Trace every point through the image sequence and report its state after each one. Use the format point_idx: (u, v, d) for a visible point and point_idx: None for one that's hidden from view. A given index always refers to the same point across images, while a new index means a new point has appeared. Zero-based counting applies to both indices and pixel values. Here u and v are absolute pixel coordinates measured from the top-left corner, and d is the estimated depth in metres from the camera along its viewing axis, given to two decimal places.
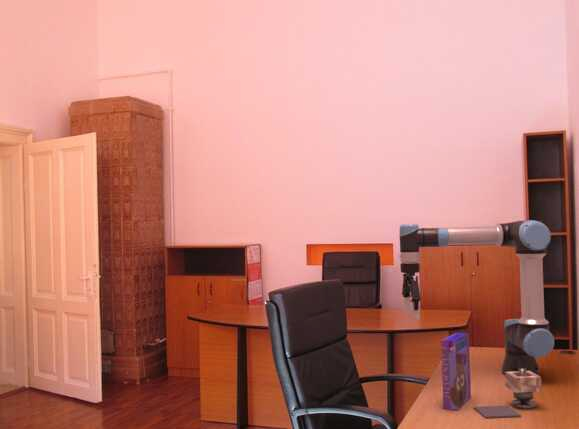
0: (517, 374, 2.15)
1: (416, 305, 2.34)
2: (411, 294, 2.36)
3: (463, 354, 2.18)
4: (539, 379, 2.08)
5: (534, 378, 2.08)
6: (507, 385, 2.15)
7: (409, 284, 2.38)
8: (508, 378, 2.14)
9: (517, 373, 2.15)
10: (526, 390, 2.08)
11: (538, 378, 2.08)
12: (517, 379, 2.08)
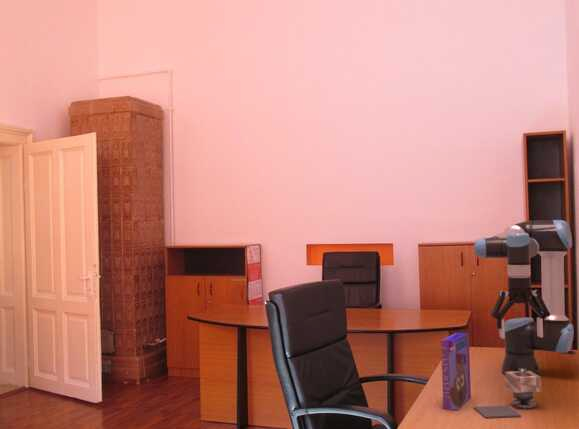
0: (517, 374, 2.15)
1: (497, 323, 2.12)
2: None
3: (463, 354, 2.18)
4: (539, 379, 2.08)
5: (534, 378, 2.08)
6: (507, 385, 2.15)
7: (508, 300, 2.14)
8: (508, 378, 2.14)
9: (517, 373, 2.15)
10: (526, 390, 2.08)
11: (538, 378, 2.08)
12: (517, 379, 2.08)
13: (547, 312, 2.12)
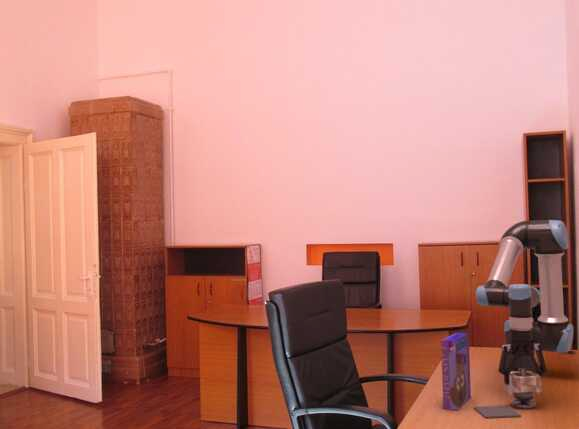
0: (517, 374, 2.15)
1: (504, 378, 2.12)
2: None
3: (463, 354, 2.18)
4: (539, 379, 2.08)
5: (534, 378, 2.08)
6: None
7: (511, 353, 2.14)
8: None
9: (517, 373, 2.15)
10: (526, 390, 2.08)
11: (538, 378, 2.08)
12: (517, 379, 2.08)
13: (544, 368, 2.12)
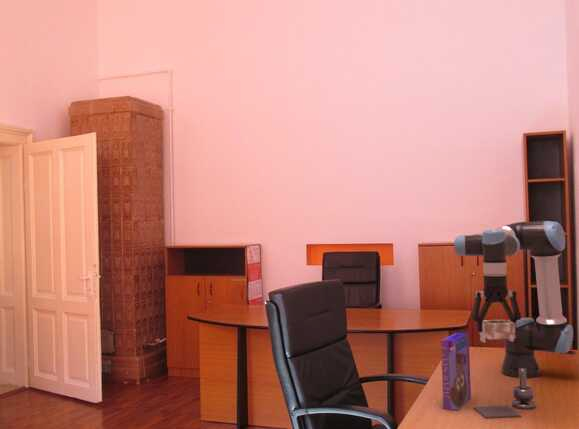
0: (491, 322, 2.09)
1: (478, 326, 2.06)
2: None
3: (463, 354, 2.18)
4: (513, 326, 2.02)
5: (508, 324, 2.02)
6: None
7: (485, 300, 2.08)
8: None
9: (491, 321, 2.09)
10: (499, 337, 2.02)
11: (512, 324, 2.02)
12: (490, 325, 2.02)
13: (518, 315, 2.06)
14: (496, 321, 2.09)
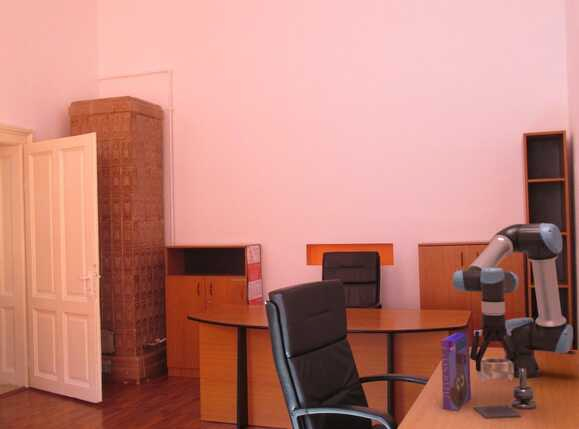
0: (489, 361, 2.09)
1: (476, 365, 2.06)
2: None
3: (463, 354, 2.18)
4: (511, 365, 2.02)
5: (506, 364, 2.01)
6: None
7: (483, 339, 2.07)
8: None
9: (489, 360, 2.09)
10: (498, 377, 2.01)
11: (510, 364, 2.02)
12: (488, 365, 2.01)
13: (517, 354, 2.05)
14: (495, 359, 2.09)
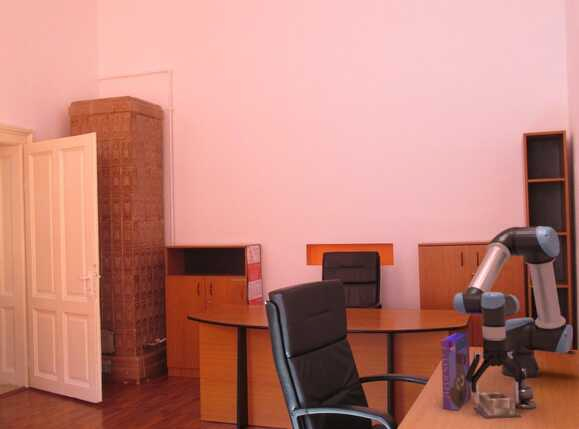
0: (491, 395, 2.08)
1: (471, 386, 2.05)
2: None
3: (463, 354, 2.18)
4: (513, 401, 2.01)
5: (507, 400, 2.01)
6: (480, 407, 2.08)
7: (483, 362, 2.07)
8: (481, 400, 2.07)
9: (491, 394, 2.08)
10: (499, 413, 2.01)
11: (512, 400, 2.01)
12: (490, 401, 2.01)
13: (523, 375, 2.05)
14: (496, 394, 2.09)
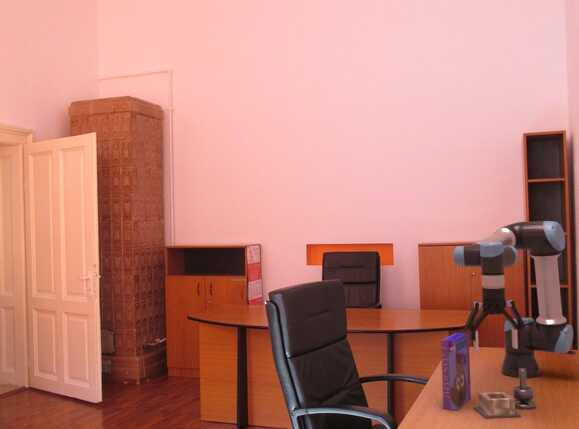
0: (491, 395, 2.08)
1: (471, 334, 2.08)
2: None
3: (463, 354, 2.18)
4: (513, 401, 2.01)
5: (507, 400, 2.01)
6: (480, 407, 2.08)
7: (482, 311, 2.09)
8: (481, 400, 2.07)
9: (491, 394, 2.08)
10: (499, 413, 2.01)
11: (512, 400, 2.01)
12: (490, 401, 2.01)
13: (522, 323, 2.07)
14: (496, 394, 2.09)
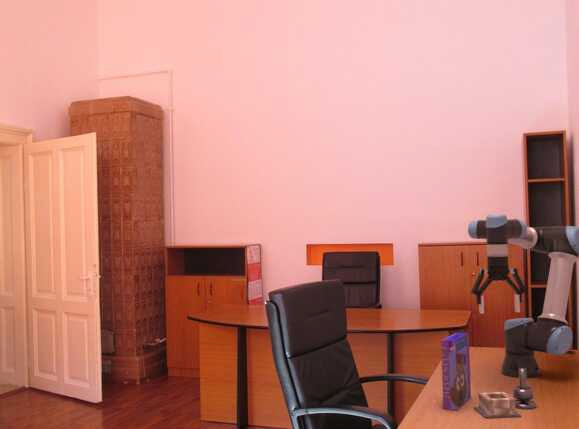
0: (491, 395, 2.08)
1: (477, 299, 2.26)
2: None
3: (463, 354, 2.18)
4: (513, 401, 2.01)
5: (507, 400, 2.01)
6: (480, 407, 2.08)
7: (487, 277, 2.28)
8: (481, 400, 2.07)
9: (491, 394, 2.08)
10: (499, 413, 2.01)
11: (512, 400, 2.01)
12: (490, 401, 2.01)
13: (524, 289, 2.26)
14: (496, 394, 2.09)
